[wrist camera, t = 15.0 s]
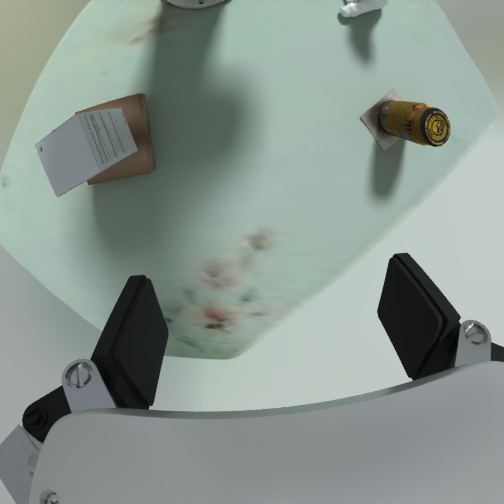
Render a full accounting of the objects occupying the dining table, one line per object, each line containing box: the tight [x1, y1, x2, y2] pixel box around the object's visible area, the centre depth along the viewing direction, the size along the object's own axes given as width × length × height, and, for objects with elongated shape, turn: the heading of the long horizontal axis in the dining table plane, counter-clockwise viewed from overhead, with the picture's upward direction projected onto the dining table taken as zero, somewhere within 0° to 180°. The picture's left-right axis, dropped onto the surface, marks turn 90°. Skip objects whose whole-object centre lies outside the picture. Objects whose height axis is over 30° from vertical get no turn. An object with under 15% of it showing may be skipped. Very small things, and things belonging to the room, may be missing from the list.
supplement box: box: [35, 108, 138, 197], centre depth 29 cm, size 7×7×13 cm
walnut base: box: [75, 94, 155, 185], centre depth 35 cm, size 12×11×3 cm
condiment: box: [361, 89, 450, 152], centre depth 32 cm, size 7×8×12 cm
